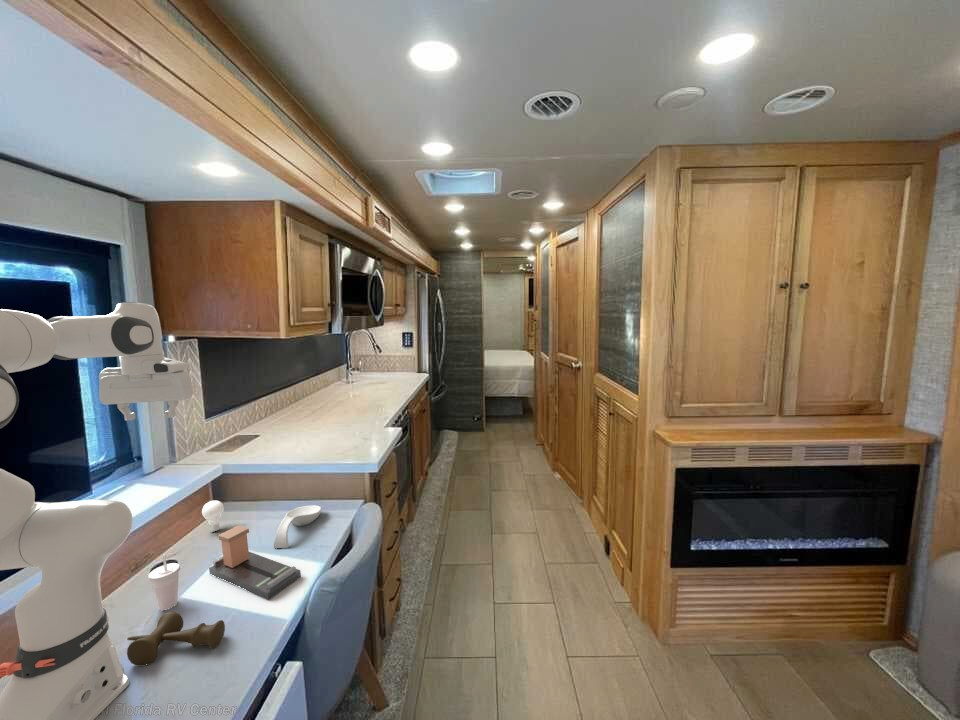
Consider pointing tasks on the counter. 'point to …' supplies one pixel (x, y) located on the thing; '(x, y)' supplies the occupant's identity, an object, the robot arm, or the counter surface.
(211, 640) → the kendama
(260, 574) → the fader track
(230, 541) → the fader knob
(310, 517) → the spoon rest
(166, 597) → the smoothie
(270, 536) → the counter surface
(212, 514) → the lightbulb
